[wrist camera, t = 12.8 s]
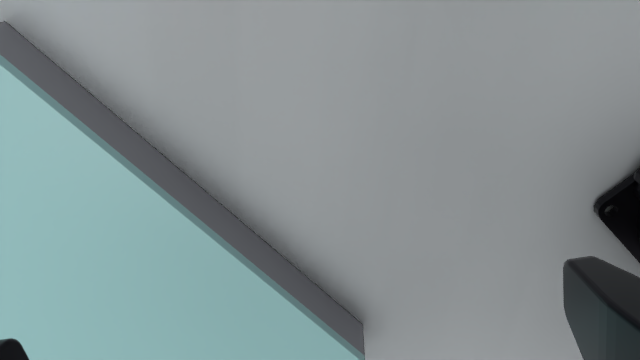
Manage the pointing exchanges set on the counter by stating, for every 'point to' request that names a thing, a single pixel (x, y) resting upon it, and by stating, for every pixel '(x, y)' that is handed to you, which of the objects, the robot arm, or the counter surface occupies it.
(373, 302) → the counter surface
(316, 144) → the counter surface
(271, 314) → the teal gray square board
